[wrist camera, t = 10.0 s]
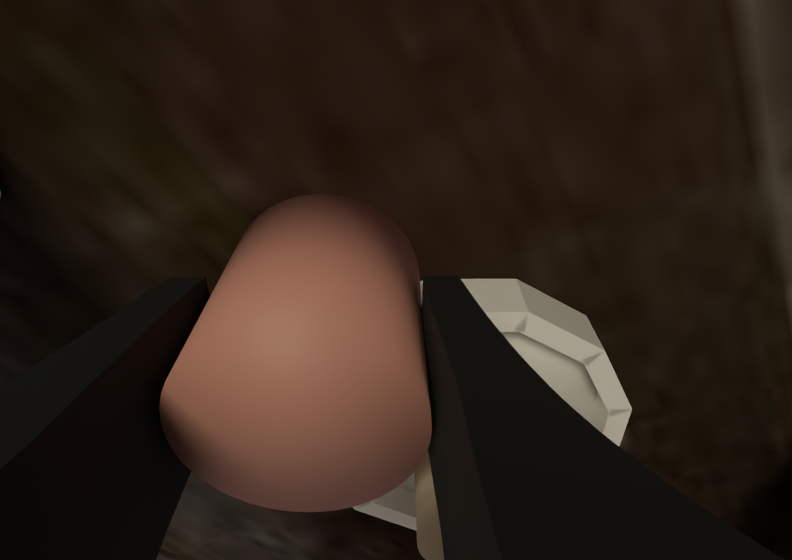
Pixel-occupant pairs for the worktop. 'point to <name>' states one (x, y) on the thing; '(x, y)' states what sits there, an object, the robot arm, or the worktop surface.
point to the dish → (536, 369)
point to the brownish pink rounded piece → (306, 363)
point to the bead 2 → (427, 513)
